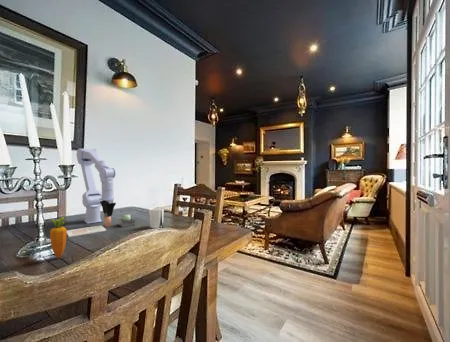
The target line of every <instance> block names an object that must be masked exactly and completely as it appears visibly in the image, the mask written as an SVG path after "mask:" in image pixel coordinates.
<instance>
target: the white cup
mask: <svg viewBox="0 0 450 342" xmlns="http://www.w3.org/2000/svg"><path fill="white" fill-rule="evenodd" d="M161 211H162V223H163V224H164V215H165V214H164V212H165V209H164V207H150V208H148V216H149V218H148V219H149V228H150V229H158V228H159V226H160V225H159V224H160V218H161ZM161 228H162V226H161Z"/></svg>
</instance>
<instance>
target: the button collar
mask: <svg viewBox="0 0 450 342" xmlns="http://www.w3.org/2000/svg"><path fill="white" fill-rule="evenodd" d="M135 221H136V220H135V219H134V218H132V217H131V220H129V221H122V218H120V219H119V218H118V219H117V222H118V223H117V226H119V227H121V228H126V227H132V226H135Z"/></svg>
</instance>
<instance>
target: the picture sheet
mask: <svg viewBox="0 0 450 342" xmlns="http://www.w3.org/2000/svg"><path fill="white" fill-rule="evenodd" d="M66 230H67V237H68V238H72V237H78V236H83V235H90V234H95V233H101V232H106V231H107V229H106V227H105V226H103V225H101V224H100V225H92V226H89V227H81V228H74V229H66Z"/></svg>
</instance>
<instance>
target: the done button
mask: <svg viewBox="0 0 450 342" xmlns="http://www.w3.org/2000/svg"><path fill="white" fill-rule="evenodd" d="M131 218H132V217H131V214H130V213H129V214H128V213H127V214H122V215H121V219H122V221H129V220H131Z"/></svg>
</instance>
